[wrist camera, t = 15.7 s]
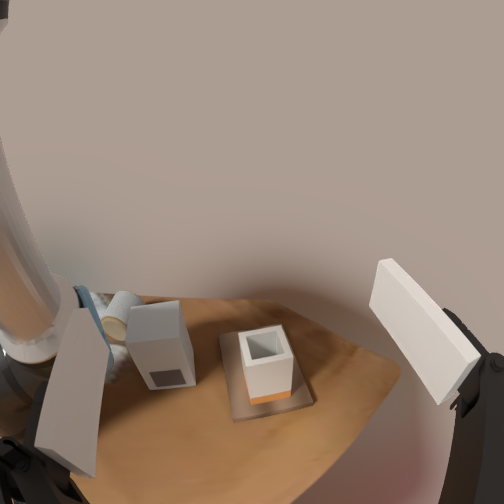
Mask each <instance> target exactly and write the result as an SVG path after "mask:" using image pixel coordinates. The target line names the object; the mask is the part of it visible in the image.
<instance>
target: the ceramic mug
mask: <svg viewBox="0 0 504 504" xmlns="http://www.w3.org/2000/svg"><path fill="white" fill-rule="evenodd" d="M141 305H146V304H145V302H144V301H143V300H142V299H141V298H140V297H139V296H137V295H136V294H134V293H132V292H130V291H126V290H121V291H118V292H117V293H116V294H115V296H114V298H113V299H112V301H111V303H110V305H109V306H108V308H107V310H106V311H105V313H104V315H103V318H102V327H103V329H104V330H105V332H106V333H107V334H108V335H109V336H111V337H112V338H114V339H116V340H119V341H125V337H126V331H127V326H128V320H129V315H130V310H131V307H134V306H141Z"/></svg>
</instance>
